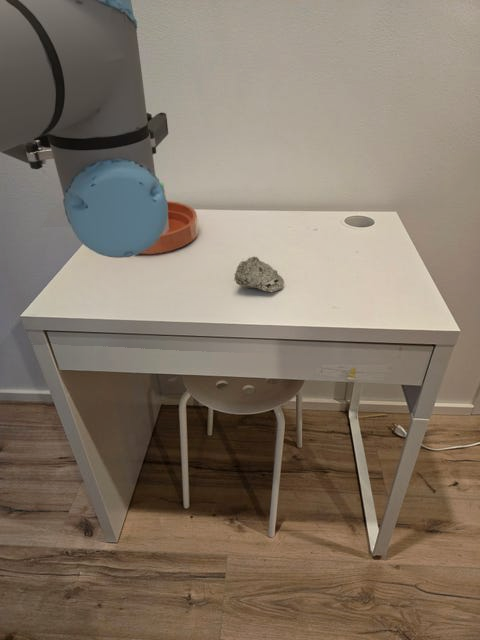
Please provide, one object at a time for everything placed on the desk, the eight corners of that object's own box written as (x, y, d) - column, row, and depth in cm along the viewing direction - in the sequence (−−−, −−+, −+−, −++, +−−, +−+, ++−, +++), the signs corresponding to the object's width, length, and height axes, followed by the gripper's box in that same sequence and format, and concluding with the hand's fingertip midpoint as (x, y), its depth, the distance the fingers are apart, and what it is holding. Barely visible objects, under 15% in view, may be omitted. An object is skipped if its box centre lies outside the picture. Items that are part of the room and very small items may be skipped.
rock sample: (281, 287, 76) (255, 245, 77) (247, 309, 80) (223, 269, 80) (297, 282, 86) (274, 245, 87) (267, 303, 89) (245, 266, 90)
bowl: (107, 260, 94) (103, 241, 91) (112, 222, 110) (108, 205, 107) (202, 250, 97) (201, 232, 94) (193, 214, 113) (191, 197, 110)
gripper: (-24, 217, 43) (-8, 158, 59) (218, 182, 49) (173, 138, 65) (-56, 136, 38) (-30, 96, 54) (215, 110, 45) (167, 81, 61)
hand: (81, 119), depth 60 cm, fingers open, 13 cm apart
